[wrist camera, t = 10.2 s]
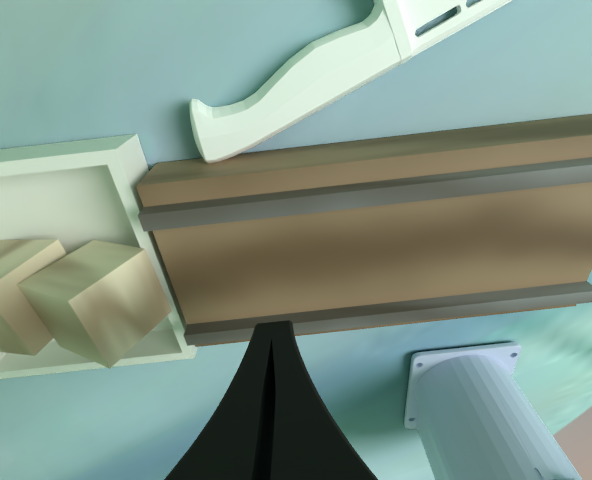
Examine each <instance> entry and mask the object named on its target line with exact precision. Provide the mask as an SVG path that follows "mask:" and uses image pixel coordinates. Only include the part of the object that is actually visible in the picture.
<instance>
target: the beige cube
mask: <svg viewBox="0 0 592 480" xmlns="http://www.w3.org/2000/svg"><path fill="white" fill-rule="evenodd" d="M16 285H17V286H18V287H19V289H20V290H21V292H22V293H23V295H24V296H25V298H26V299H27V300H28V302H29V303H30V305H31V306H32V308H33V309H34V310H35V312H36V313H37V315H38V316H39V318H40V319H41V320H42V322H43V323H44V325H45V326H46V328H47V329H48V330H49V332H50V333H51V335H52V336H53V338H54V339H55V340H56V342H57V343H58V345H59V346H60V347H62V348H64V349H66V350H69V351H71V352H73V353H76V354H78V355H80V356H82V357H85V358H87V359H89V360H91V361H94V362H96V363H98V364H101V365H103V366H105V367H107V368H111V367H112V366H113V365H114V364H115V363H116V362H118V361H119V360H120V359H121V358H122V357H123V356H124V355H125V354H126V353H127V352H128V351H129V350H130V349H132V348H133V347H134V346H135V345H136V344H137V343H138V342H139V341H140V340H141V339H142V338H143V337H145V336H146V335H147V334H148V333H149V332H150V331H151V330H152V329H153V328H154V327H155V326H156V325H157V324H159V323H160V322H161V321H162V320H163V319H164V318H165V317H166V316H167V315H168V314H169V313H170V312H171V311H172V309H171V307H170V305H169V302H168V300H167V298H166V296H165V293H164V291H163V289H162V286H161V284H160V282H159V279H158V277H157V275H156V273H155V270H154V268H153V266H152V263H151V261H150V259H149V256H148V254H147V252H146V250H145V249H144V248H138V247H132V246H127V245H121V244H115V243H110V242H104V241H99V240H93V241H91V242H90V243H88V244H86V245H84V246H83V247H81V248H79V249H77V250H76V251H74V252H72V253H70V254H69V255H67V256H65V257H63V258H62V259H60V260H58V261H56V262H55V263H53V264H51V265H49V266H48V267H46V268H44V269H42V270H41V271H39V272H37V273H36V274H34V275H32V276H30V277H29V278H27V279H25V280H23V281H22V282H20V283H18V284H16Z"/></svg>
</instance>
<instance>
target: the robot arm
mask: <svg viewBox="0 0 592 480" xmlns="http://www.w3.org/2000/svg"><path fill="white" fill-rule="evenodd" d="M521 350H522V347H521V346H520V345H519V343H517V342H510V343H500V344H491V345H482V346H472V347H463V348H454V349H444V350H435V351H426V352H418V353H415V354H413V355H412V358H411V366H410V374H409V383H408V392H407V400H406V409H405V417H404V425H405V428H407V429H416V428H417V429H418V432H419V435H420V438H421V441H422V443H423V446H424V449H425V452H426V455H427V457H428V460H429V463H430V466H431V469H432V472H433V474H434V477H435V480H582V478H581V477H580V475H579V474H578V473H577V471H576V469H575V468H574V467H573V465H572V464H571V462H570V461H569V459H568V458H567V456H566V455H565V453H564V452H563V450H562V449H561V448H560V446H559V445H558V443H557V442H556V441H555V439H554V437H553V436H552V434H551V433H550V431H549V430H548V429H547V427H546V426H545V424H544V423H543V421H542V420H541V418H540V417H539V415H538V414H537V413H536V411H535V410H534V408H533V407H532V405H531V404H530V402H529V401H528V399H527V398H526V396H525V395H524V394H523V392H522V391H521V389H520V388H519V386H518V385H517V383H516V382H515V380H514V379H513V378H512V375H513V372H514V369H515V366H516V363H517V361H518V358H519V355H520V352H521ZM164 480H378V479H377V478H376V476H375V475H374V474H373V473H372V472H371V470H370V469H369V468H368V467H367V465H366V464H365V463H364V462H363V460H362V459H361V458H360V456H359V455H358V454H357V452H356V451H355V450H354V448H353V447H352V446H351V444H350V443H349V441H348V440H347V438H346V437H345V435H344V434H343V433H342V431H341V430H340V428H339V427H338V425H337V424H336V422H335V421H334V419H333V418H332V416H331V414H330V413H329V411H328V409H327V408H326V406H325V404H324V403H323V401H322V399H321V397H320V395H319V394H318V392H317V390H316V388H315V386H314V384H313V382H312V380H311V378H310V376H309V374H308V371H307V369H306V367H305V365H304V362H303V360H302V357H301V355H300V352H299V349H298V346H297V343H296V340H295V336H294V329H293V323H292V322H291V321H290V320H286V321H277V322H267V323H258V324H257V325H256V326H255V328H254V331H253V334H252V337H251V340H250V343H249V345H248V348H247V350H246V353H245V355H244V357H243V359H242V362H241V364H240V366H239V368H238V370H237V372H236V374H235V376H234V378H233V380H232V382H231V384H230V386H229V388H228V390H227V392H226V393H225V395H224V397H223V399H222V400H221V402H220V404H219V405H218V407H217V409H216V410H215V412H214V414H213V415H212V417H211V418H210V420H209V421H208V423H207V424H206V426H205V427H204V429H203V430H202V432H201V433H200V434H199V436H198V437H197V439H196V440H195V441H194V443H193V444H192V446H191V447H190V448H189V450H188V451H187V452H186V453H185V455H184V456H183V457H182V458H181V460H180V461H179V462H178V463H177V465H176V466H175V467H174V468H173V470H172V471H171V472H170V473H169V475H168V476H167V477H166V478H165V479H164Z"/></svg>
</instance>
